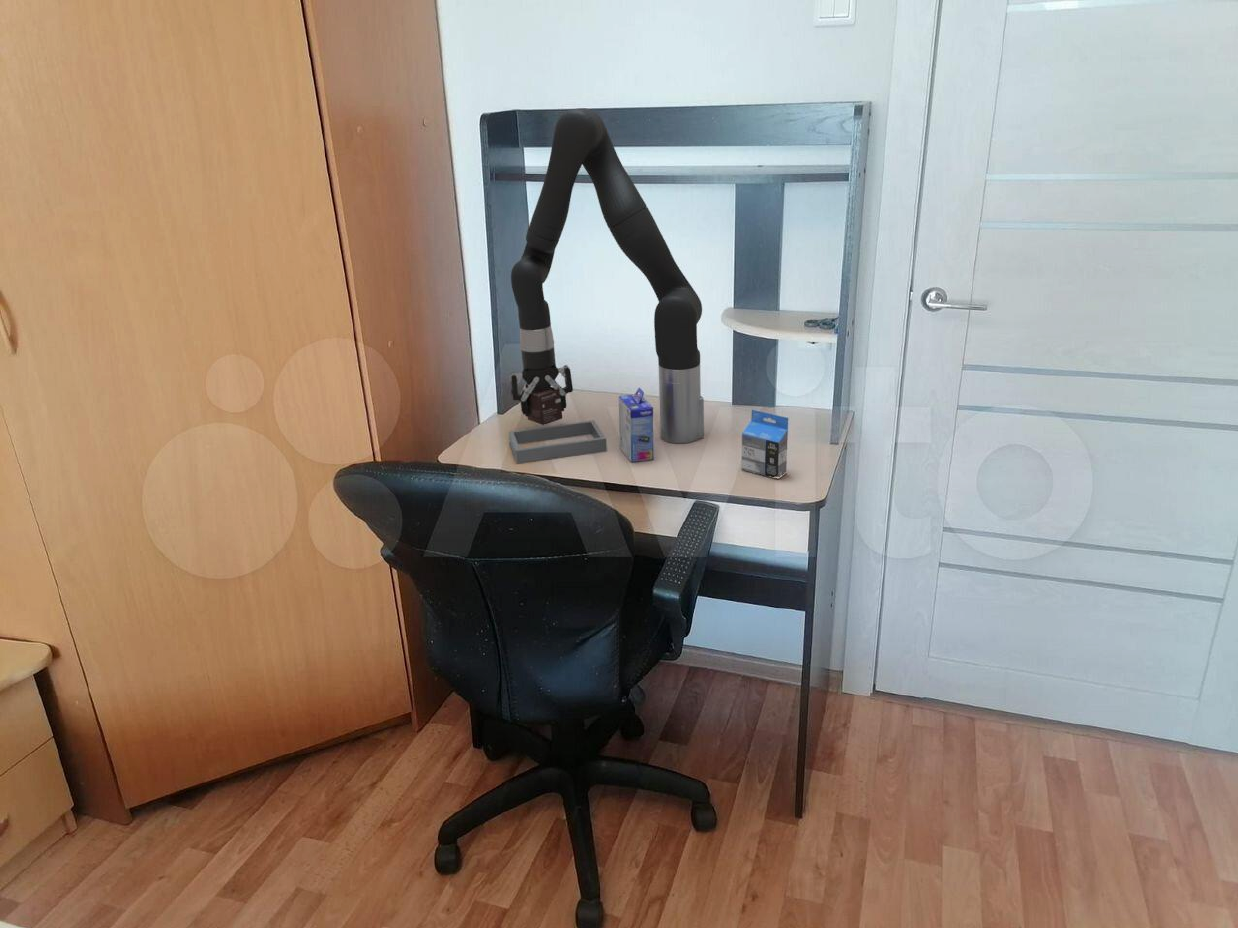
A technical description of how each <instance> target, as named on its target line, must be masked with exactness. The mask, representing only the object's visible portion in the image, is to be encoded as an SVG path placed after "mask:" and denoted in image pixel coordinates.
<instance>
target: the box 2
mask: <svg viewBox="0 0 1238 928" xmlns="http://www.w3.org/2000/svg"><path fill="white" fill-rule="evenodd" d="M507 433H508V441H509V442H508V443H509V445H510V448H511V451H512V454H513V456H514V459H515V461H516V464H517V463H519V464H524V463H531V462H532V463H533V462H539V461H546V460H554V459H559V458H567V457H574V456H581V455H582V456H583V455H588V454H589V455H590V454H595V453H601V452H602V453H603V452H607V450H608V449H607V437H606V436H605V435H604V433H603V432H602V430H601V429H600V427H599V424H598V423H597V422H596V421H595V419H592V420H591V419H590V420H585V421H584V420H583V421H576V422H569V423H561V424H555V425H554V424H553V425H547V426H546V425H544V426H539V427H532V428H531V427H530V428H524V429H517V430H516V429H515V430H510V431H509V430H508V432H507ZM587 435H591V436H592V437H593V438H587V439H581V440H580V439H579V440H573V441H566V442H565V441H564V442H559V443H553V444H546V445H545V444H543V445H537V446H529V447H524V448H520V446H519V445H520V444H522V445H523V444H528V443H535V442H543V441H550V440H557V439H565V438H572V437H580V436H587Z"/></svg>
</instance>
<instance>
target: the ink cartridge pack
mask: <svg viewBox="0 0 1238 928" xmlns="http://www.w3.org/2000/svg"><path fill="white" fill-rule="evenodd" d="M750 417H751V419H750V422H749V423H748V424H747V426H746V428H745V429H744V430H743V431H742V433H741V470H742V471H746V472H748V471H749V472H750V473H752V472H755V473H754V474H756V473H758V474H757V475H759V474H762V475H761V476H763V475H766V476H765V477H767V476H771V477H780V476H781V475H783V474H784V473H785V472H786V473H787V466H788V465H787V464H788V462H787V461H788V459H787V458H788V457H787V456H788V439H789V436H788V435H789V417H786V416H781V415H777V414H773V413H768V412H764V411H759V410H755V409H751V416H750ZM764 419H771V420H772V421H775V422H771V421H767V420H764ZM749 472H748V473H749Z"/></svg>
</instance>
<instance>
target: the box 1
mask: <svg viewBox="0 0 1238 928" xmlns="http://www.w3.org/2000/svg"><path fill="white" fill-rule="evenodd" d="M526 400H527V403H528V412H529V416H527V421H531V422H533V423H536V424H539V425H541V426H546V425H548V424H551V423H553V422H556V421H560V420H562V419H563V411H562V409H561V399H560V390H559V389H558V390H555V389H554V388H553V387H552V386H551V387H549V388H547V389H545V388H542V389H539V390H536V389H533V390H532V392H531V394H529V396H528V398H527V399H526Z"/></svg>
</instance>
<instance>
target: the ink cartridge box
mask: <svg viewBox="0 0 1238 928" xmlns="http://www.w3.org/2000/svg"><path fill="white" fill-rule="evenodd" d="M644 394H645V392H644V391H643V390H642V389H641V387H638V388H637V390H636V392H635V393H634V394H627V395H626V394H625V395H620V396H618V445H619V446H618V447H619V448H620V450H621V451H622V452H623V454H624V455H625V456H626V457H627V459H628V461H629V462H630V463H633V462H634V463H635V462H645V461H653V460H654V457H655V456H654V407H653V406H652V405H651V404H650V402H648V400H647V399H646V398H645V397H644Z"/></svg>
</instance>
